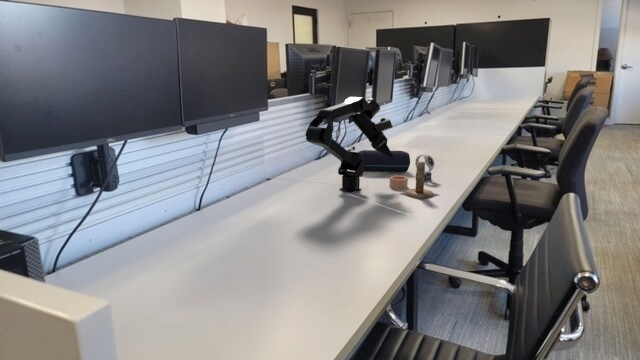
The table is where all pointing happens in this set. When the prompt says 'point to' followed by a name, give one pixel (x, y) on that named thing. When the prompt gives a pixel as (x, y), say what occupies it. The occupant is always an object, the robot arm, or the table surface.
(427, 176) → the watch
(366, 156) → the portable speaker
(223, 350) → the table surface
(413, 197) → the mat
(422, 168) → the lid
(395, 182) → the bowl
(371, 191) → the table surface
